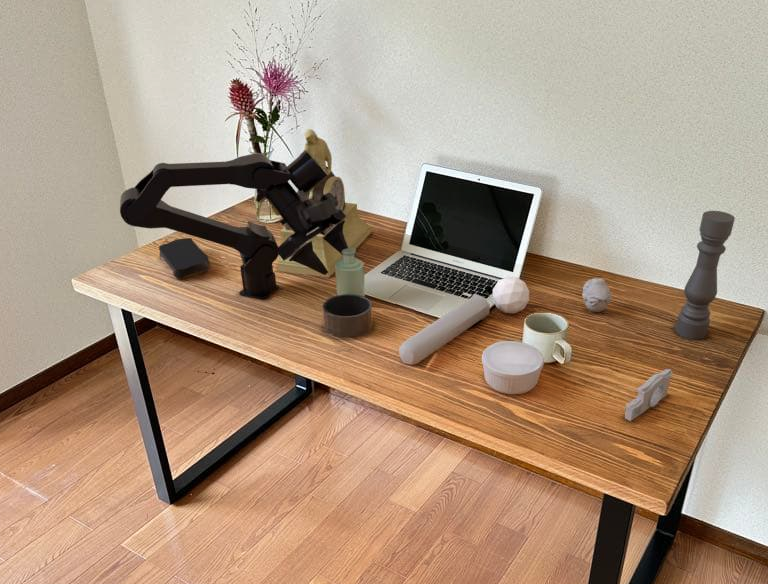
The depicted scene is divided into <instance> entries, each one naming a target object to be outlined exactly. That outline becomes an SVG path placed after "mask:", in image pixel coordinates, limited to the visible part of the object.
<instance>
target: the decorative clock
mask: <svg viewBox="0 0 768 584" xmlns="http://www.w3.org/2000/svg"><path fill="white" fill-rule="evenodd" d="M304 137H305V140H306V141H305V144H304V148H303V151H305V150H306V151H307V152H308V153H309V154H310V155H311V156H312V157H313V159H314V158H315V159H316V161H317V162H318V163H319V164H320V166H321V167H322V168H323V169H324V171H325V172H326V173H327V175H328V176H327V177H326V178H325V179H323V180H322V181H321V182H320V183H319V184H317V185H316V186H315V187H314V188H313V189H311V190H310V191H309V192H307V191H306V192H305V193H304V192H303V191H301V192H300V191H299V190H298V189H297V191H296V192H297V193H298V195H299V196H300V197H301V198H302V200H303V201H306V200H307V199H308V200H310V201H311V202H312V204H315V203H318V202H319V201H321V196H323V195H324V194H327V193H329V192H330V193H331V194H332V195H333V196H334V197H335V198H336V200H337V201H338V205H337V206H336V209H341V210H342V212H343V213H344V214H345V215H346V217H345V218H344V219H343V220H345V223H344V224H343V234H344V238H345V240H346V243H347V246H348V248H351V249H355V250H356V251H357V249H358V248H359V246H361V244H363V242H364V241H365V240H366V239H367V238H368V237H369V236H370V234H371V232H372V230H371V229H372V228H371V227H372V226H371V225H369V224H368V223H367V222H366V221H364V220H363V219H362V218H361V216H360V215H359V211H358V203H353V202H346V195H345V192H346V191H345V186H344V181H343V179H342V178H341V177H340V176H336V175H335V174H334V172H333V171H332V165H333V164H332V162H333V159H332V153H331V151H330V148H329V145H328V143H327V142H326V141H325V139H323V138H321V137H319V136H318V135H317V132H316V131H315V130H313V129H311V128H309V129H307V130H306V131H305V132H304ZM343 220H342V221H343ZM342 221H341V222H342ZM279 232H280V233H279V234H280V235H279V236H280V245H281V244H282V243H283V242H284V241H285V240H286V239H287V238H288V237H289V236H291V235H293V234H294V232H293V230H292V229H291V228H290V227H289V226H288V224H287V223H286V224H285V225H284V227H283V228H282V229H281V230H280V231H279ZM325 236H326V234H325V235H322V234H318V235H316V236H315V237H313V238H312V239H310V240H309V241H307V243H309V242H310V241H312V246H313V251H314V252H315V254H316V255H317V256H318V258H319V259H320V260H321V262H322V263H323V264H324V266H325V267H326V269H327V271H328V273H327V274H326V275H323V274H321V273H319V272H317V271H315V270H313V269H311V268H309V267H307V266H304V265H302V264H299V263H297V262H294V261H291V262H290V261H289V259H290V258H291V257H292V256H291V257H289V258H288V259H286V260H285V261H284V260H283V259H282V258H281V257H280V255H278V257H277V262H276V267H277V268H276V269H277V272H279V273H280V272H281V273H287V274H293V275H310V276H315V277H324V278H330V277H331V276H333V275H334V274H335V273H336V271H335V264H336V262H337V261H339V260H341V259H343V255H342V254H341V253H340V252H338V251H337V250H336V249H335V248H334V247H332V246H331V245H330V244H329V243H328V242H326V241H325V240H324V239H323V238H324V237H325Z"/></svg>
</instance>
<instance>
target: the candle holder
mask: <svg viewBox="0 0 768 584" xmlns="http://www.w3.org/2000/svg"><path fill="white" fill-rule="evenodd" d="M735 220H736V219H735V216H734V215H732V214H731V213H729V212H725V211H720V210H706V211H704V212H703V213H702V217H701V221H700V225H699V228H698V230H699V235H700V239H701V240H700V241H699V242H698V243H697V244H696V248H697V250H698V256H697V260H696V263H695V267H694V268H693V270H692V272H691V274H690V276H689V278H688V280H687V282H686V283H685V286H684V291H683V293H684V295H685V299H686V303H685V304H684V305H682V306H681V308H680V312H679V313H678V315H677V319H676V323H675V327H674V330H675V333H676V334H677V335H678V336H680V337H682V338H685V339H689V340H702V339H705V338H706V336H707V335H708V330H709V327H710V323H711V319H710V316H711V310H710V309H709V306H710V304H711V303H712V302H713V301H714V300H715V298H716V297H717V295H718V266H719V261H720V259H721V258H720V257H721V256H722V255H723V254H725V251H726V250H727V249H726V246H725V245H724V244H725V243H726V242H727V241H728V239H729V237H730V236H731V235H732V231H733V229H734V228H733V227H734V223H735Z"/></svg>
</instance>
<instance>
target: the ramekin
mask: <svg viewBox="0 0 768 584" xmlns="http://www.w3.org/2000/svg"><path fill="white" fill-rule="evenodd" d="M481 363H482V366H483V375H484V379H485V382H486V383H487V384H488V386H489V387H491V388H492V389H493V390H494V391H496V392H499V393H502V394H506V395H521V394H522V395H523V394H526V393H527V392H529V391H531V390H532V389H534V388H535V387H536V385H537V383H538V381H539V378H540V376H541V372H542V370H543V368H544V365H545V357H544V355H543V353H542V352H541V350H539V349H538V348H537V347H535V346H533V345H531V344H529V343H526V342H522V341H517V340H502V341H498V342H497V341H496V342H495V343H492V344H490V345H488V346H487V347H485V348H484V350H483V352H482V353H481Z"/></svg>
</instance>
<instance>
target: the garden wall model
mask: <svg viewBox="0 0 768 584" xmlns="http://www.w3.org/2000/svg"><path fill="white" fill-rule="evenodd" d="M673 374H674V372H673V371H672V369H671V368H664V369H663V370H662V371H661V372H658V373H656V374H655V373H654V374H653V375H652V376H650V377H648V379H647V380H646V381H644V383H643V384H642V385H641V386H639V387H636V391H637V392H638V393H637V397H636V398H633V399H632V400H631V401H630V402H628V403H627V404H625V412H624V419H625V420H628V421H629V422H632V421H633V420H634V419H636V418H637V417H639V416H640V415H642V414H643V413H644V412H646V411H647V410H649V409H650V408H654V407H655V406H657V405H658V404H659V402H660V401H661V400H662V399H664V398H665V397H666V396H668V391H669V387H670V383H671V380H672V376H673Z"/></svg>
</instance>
